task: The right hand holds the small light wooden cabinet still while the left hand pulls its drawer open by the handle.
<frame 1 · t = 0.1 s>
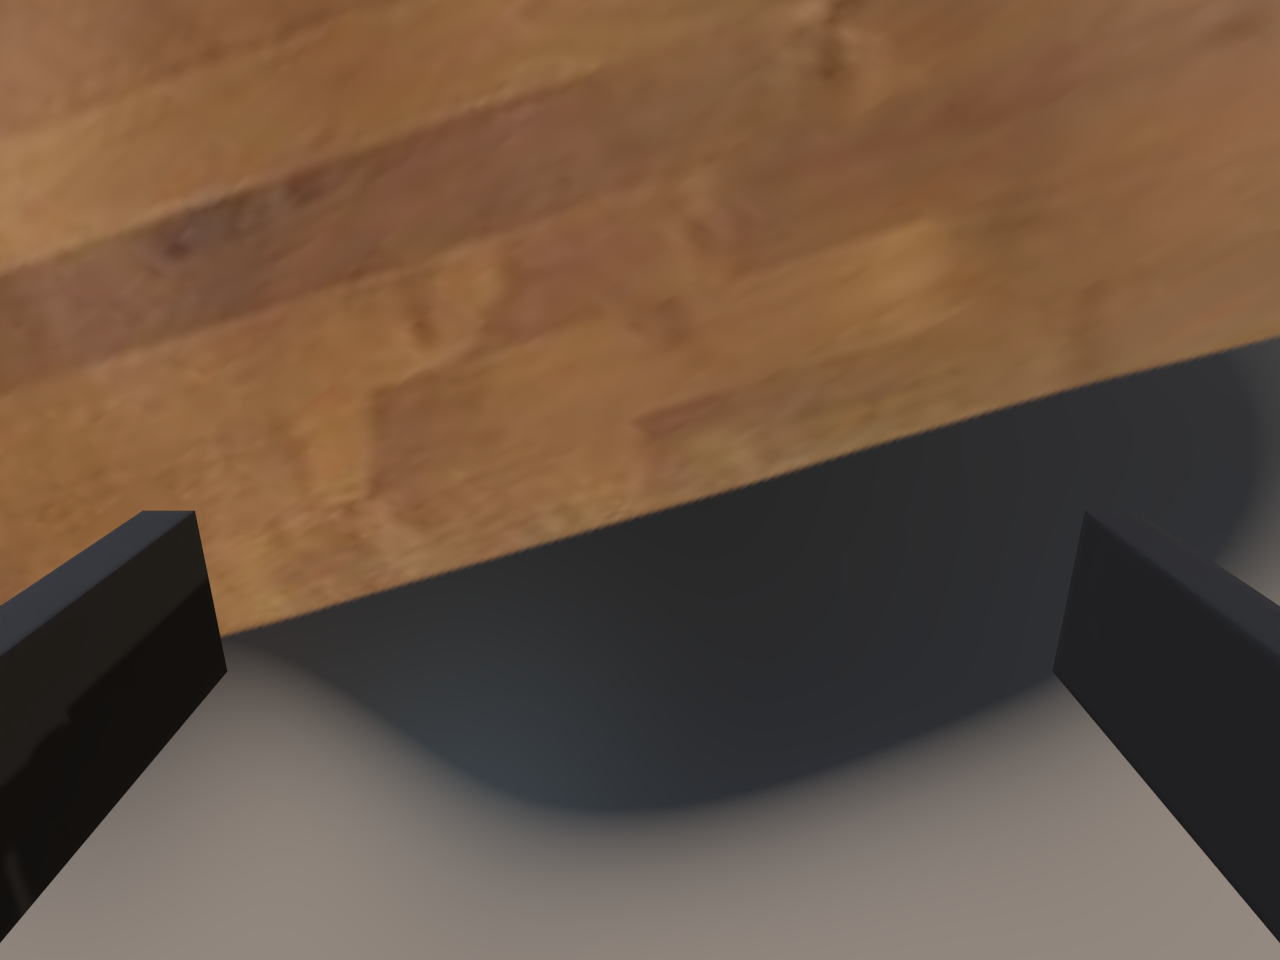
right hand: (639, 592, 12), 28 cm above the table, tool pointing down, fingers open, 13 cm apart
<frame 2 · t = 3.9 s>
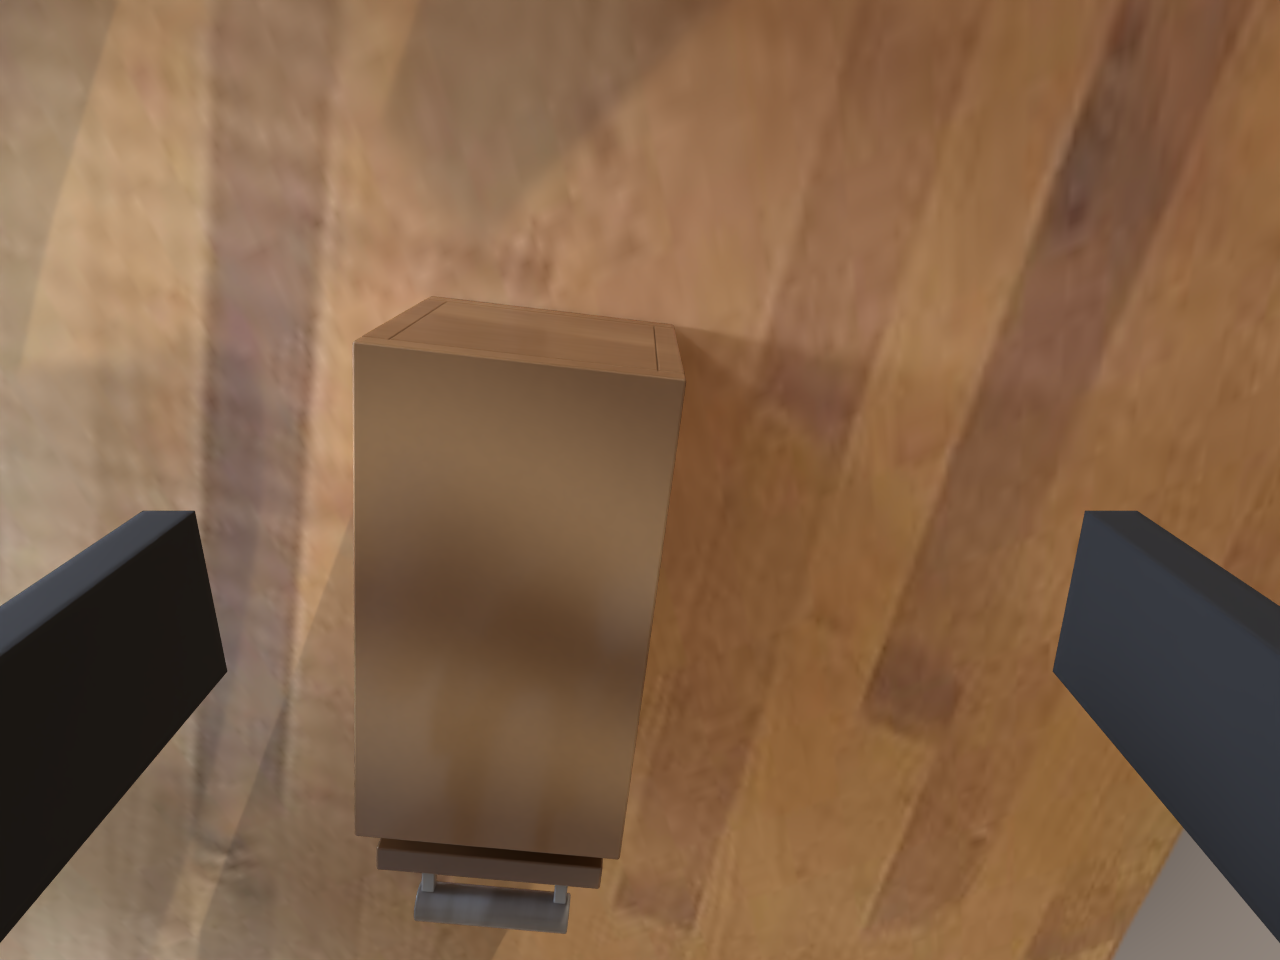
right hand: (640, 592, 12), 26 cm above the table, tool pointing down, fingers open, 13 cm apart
cabinet: (536, 519, 40), on the table
drawer: (512, 690, 37), point 5 cm above the table, slide at 1.5 cm
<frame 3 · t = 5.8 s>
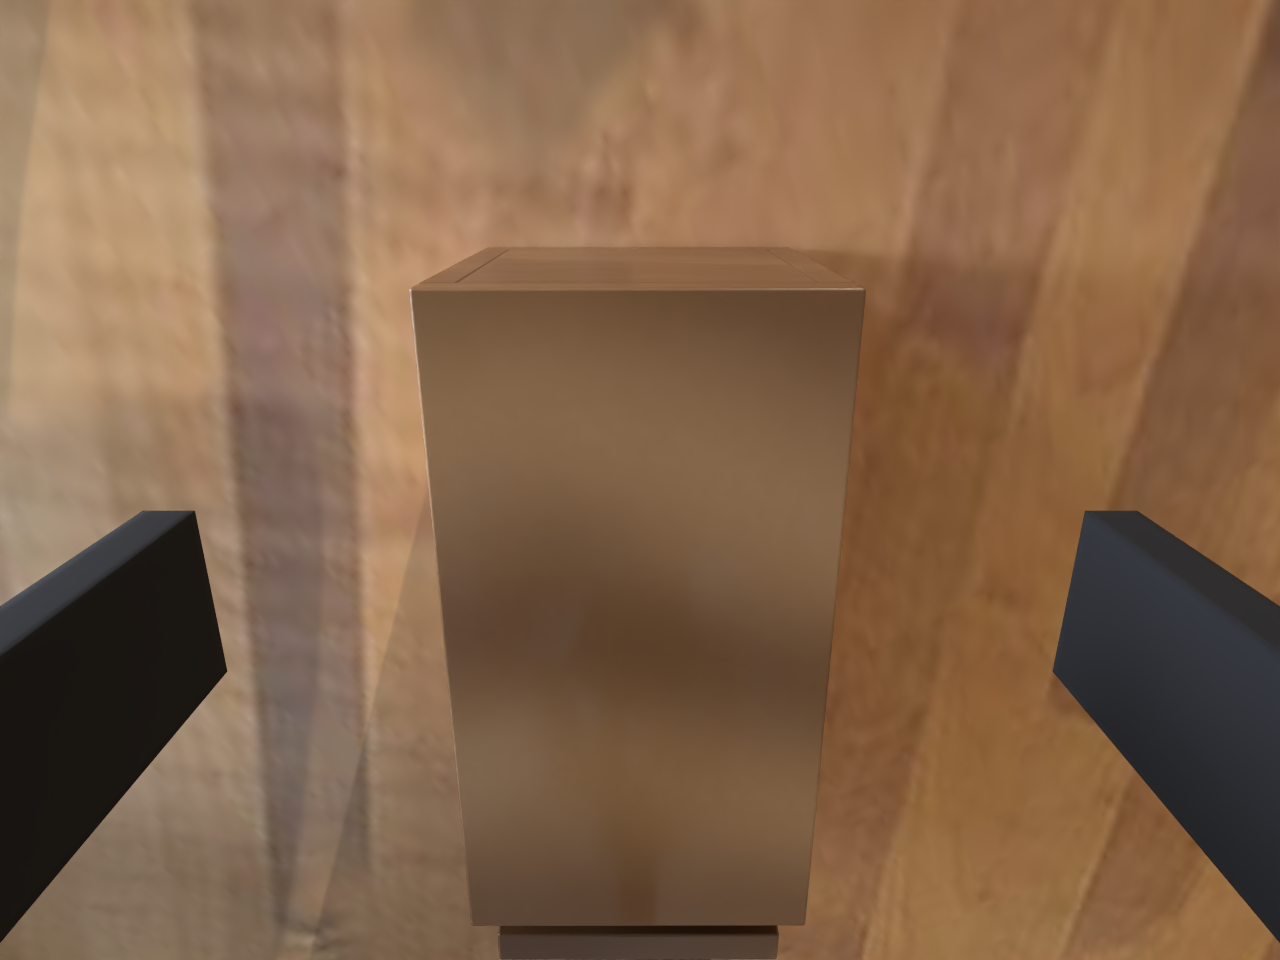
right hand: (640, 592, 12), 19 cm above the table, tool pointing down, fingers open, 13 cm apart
cabinet: (638, 510, 33), on the table
drawer: (638, 721, 30), point 5 cm above the table, slide at 1.5 cm
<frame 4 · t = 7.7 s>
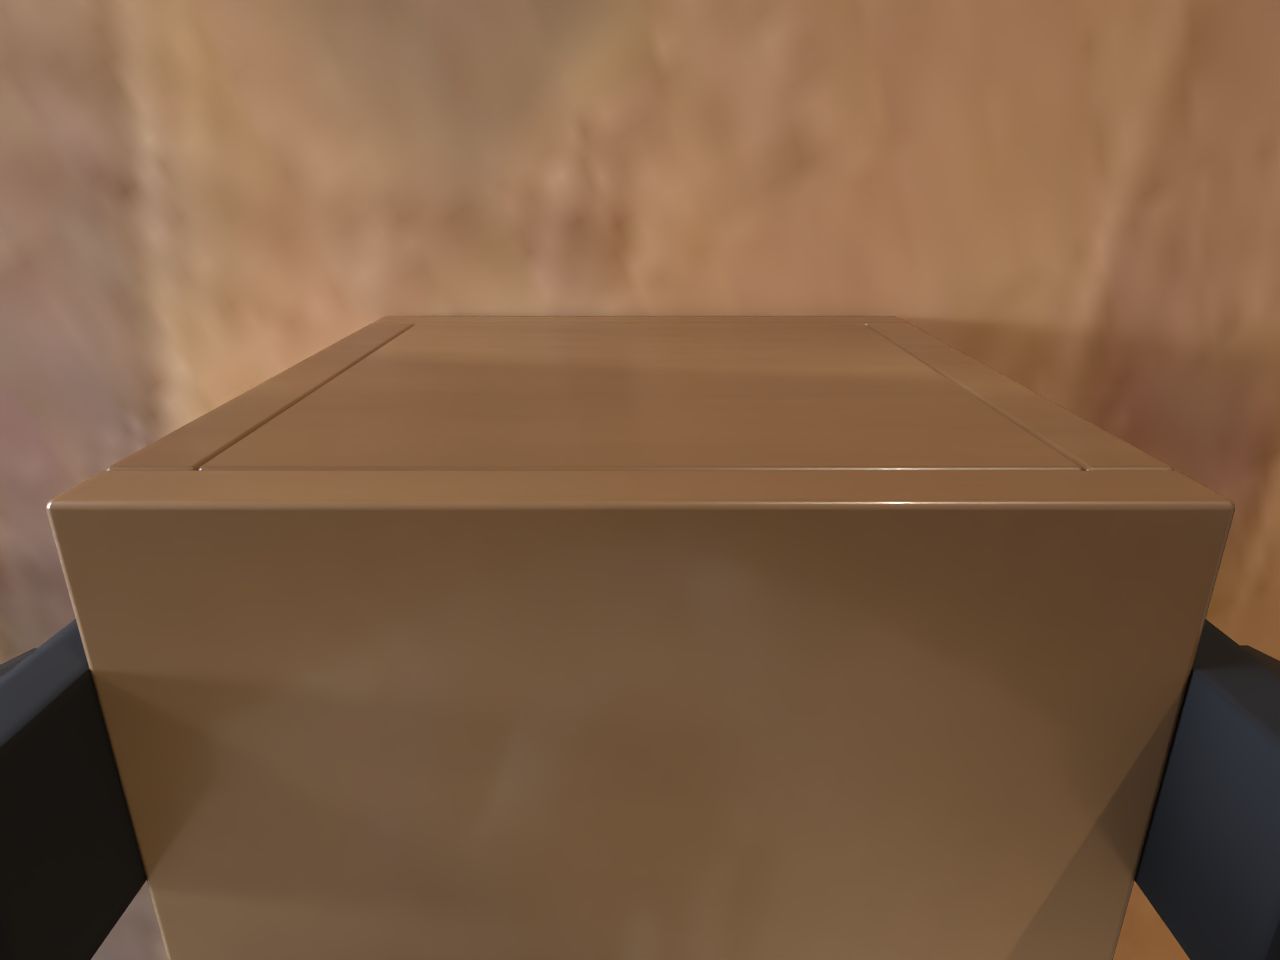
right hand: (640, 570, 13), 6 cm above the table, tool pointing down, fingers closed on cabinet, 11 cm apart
cabinet: (640, 719, 21), on the table, touching right hand
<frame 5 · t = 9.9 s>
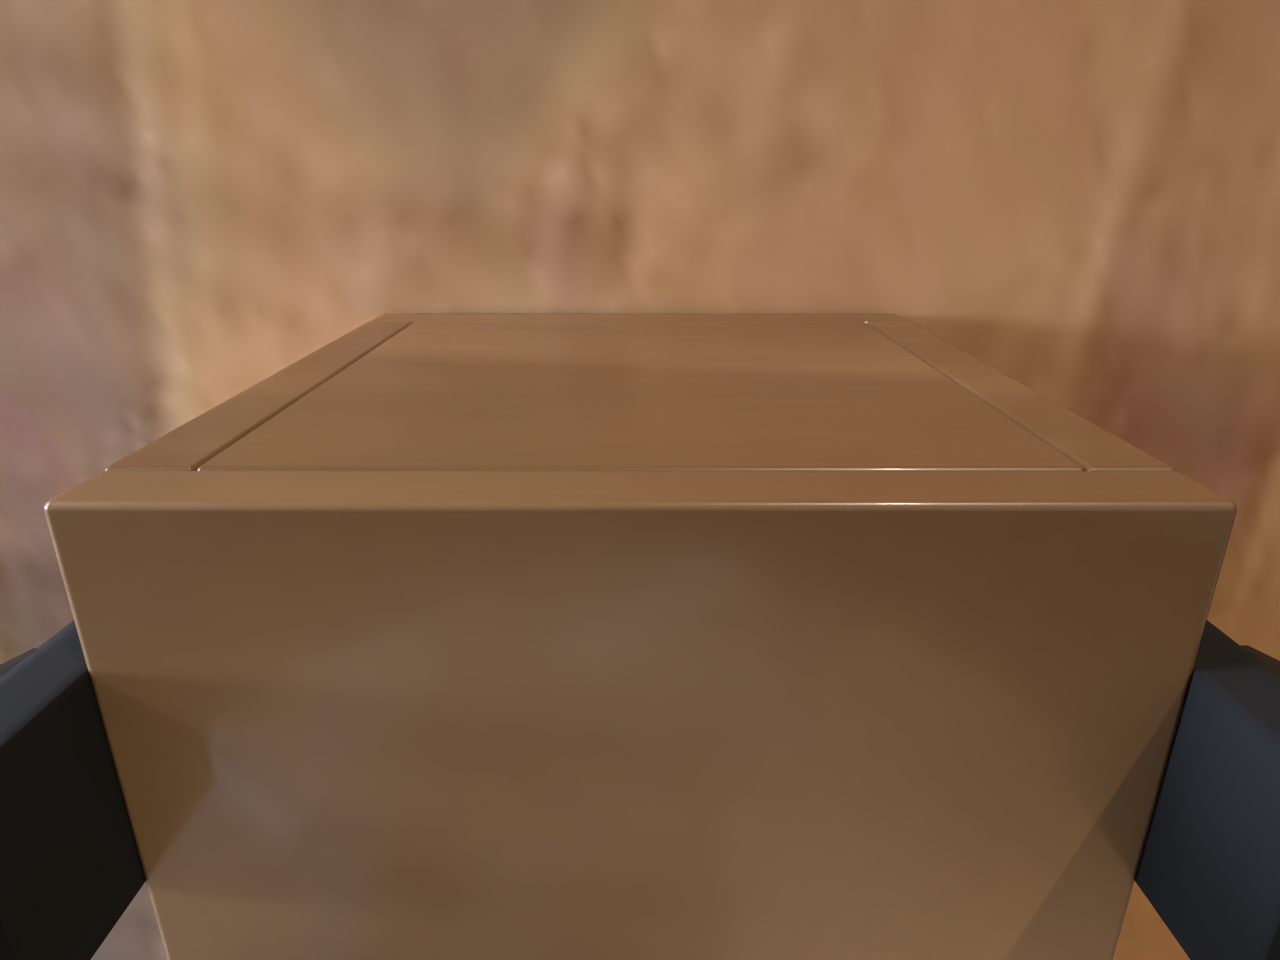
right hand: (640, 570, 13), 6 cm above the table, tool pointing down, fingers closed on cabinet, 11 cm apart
cabinet: (639, 717, 21), on the table, touching right hand
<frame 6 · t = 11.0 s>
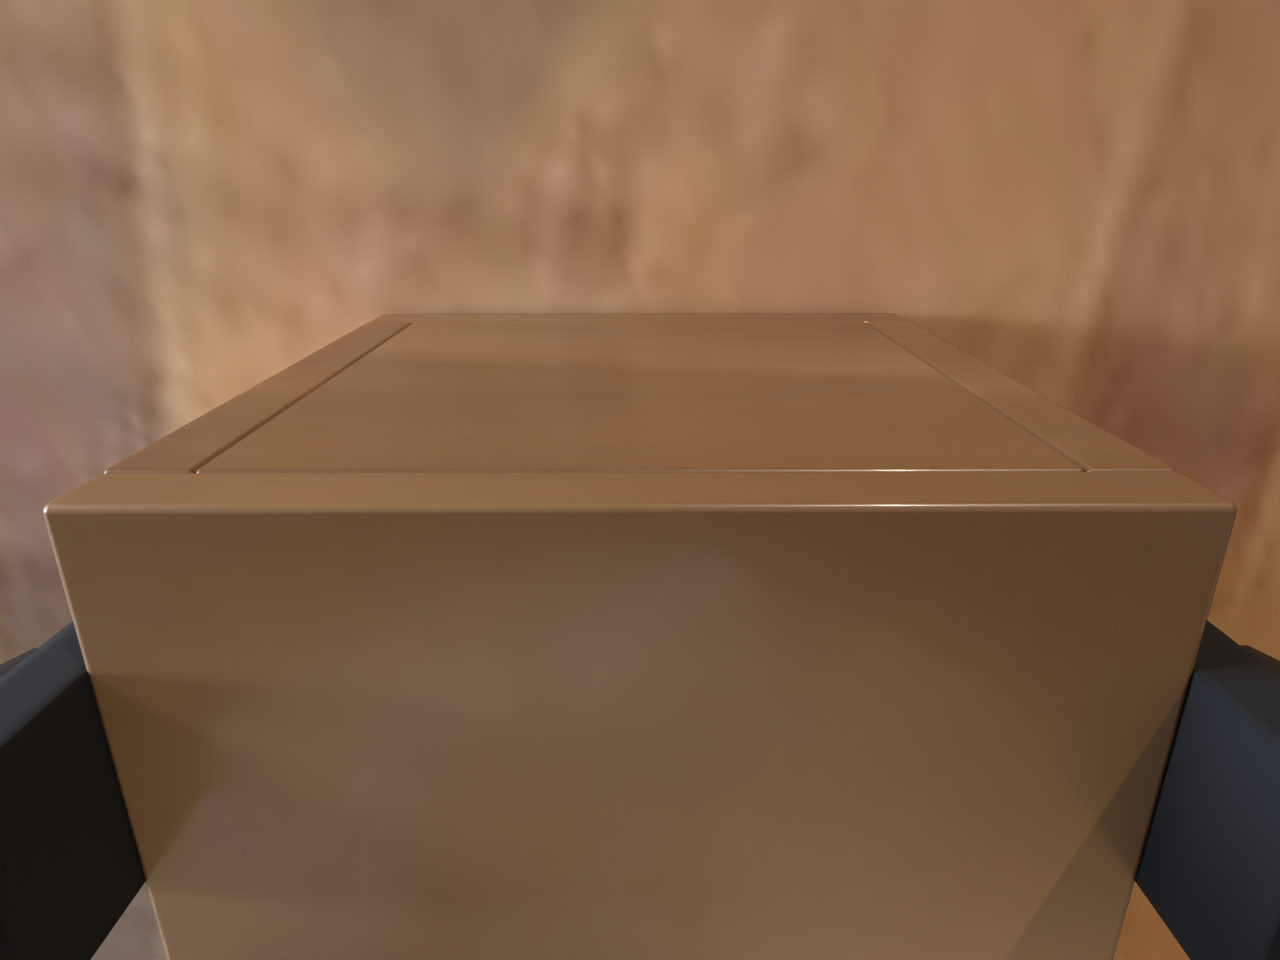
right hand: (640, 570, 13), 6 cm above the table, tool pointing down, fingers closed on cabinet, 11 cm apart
cabinet: (639, 717, 21), on the table, touching right hand
when the right hand's fingers open (6 cm above the table, at t = 13.0 s): cabinet stays where it is, on the table.
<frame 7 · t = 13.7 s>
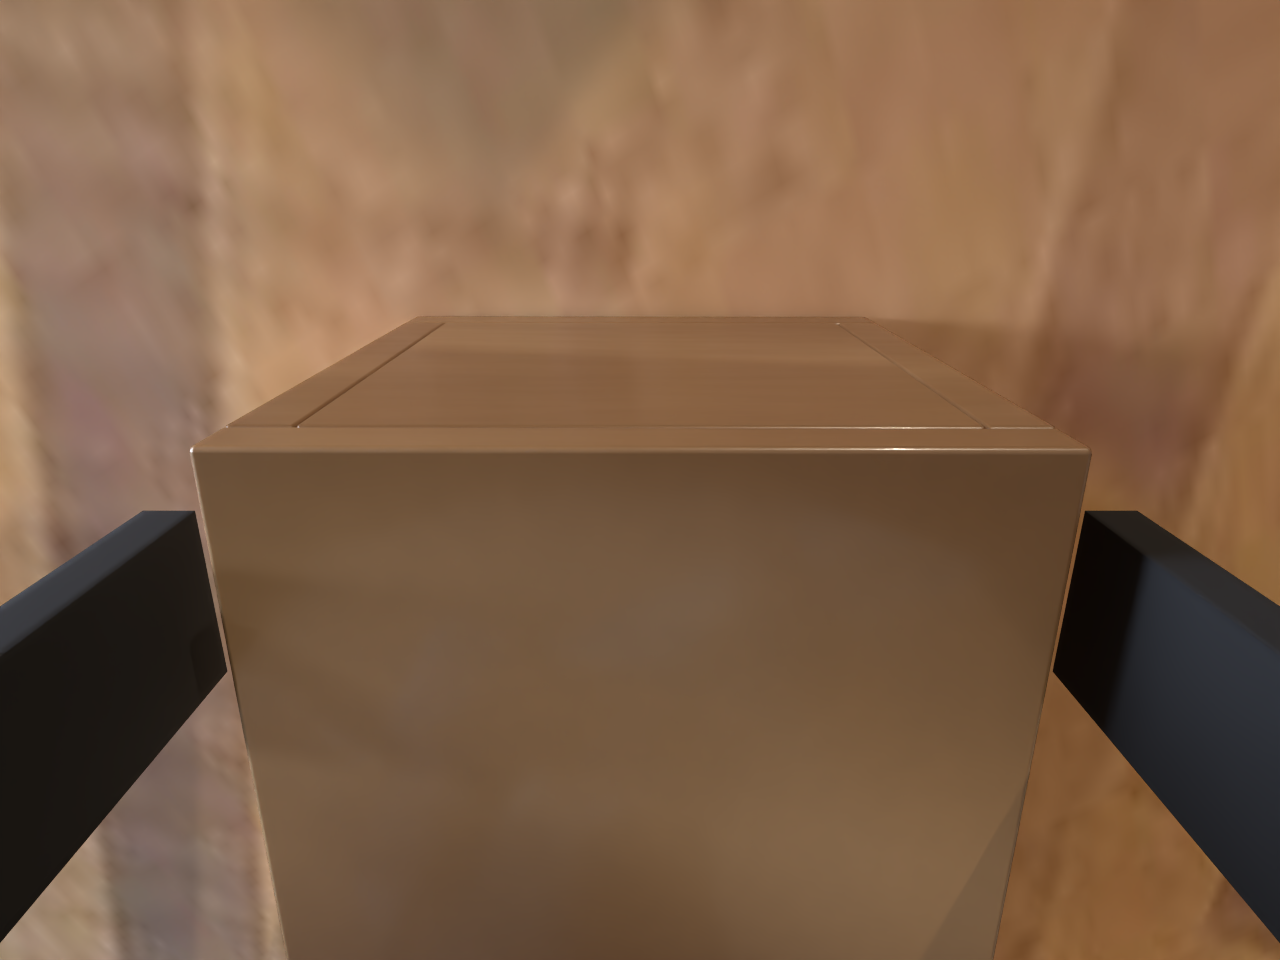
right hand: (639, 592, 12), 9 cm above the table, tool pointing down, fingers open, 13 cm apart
cabinet: (640, 681, 23), on the table
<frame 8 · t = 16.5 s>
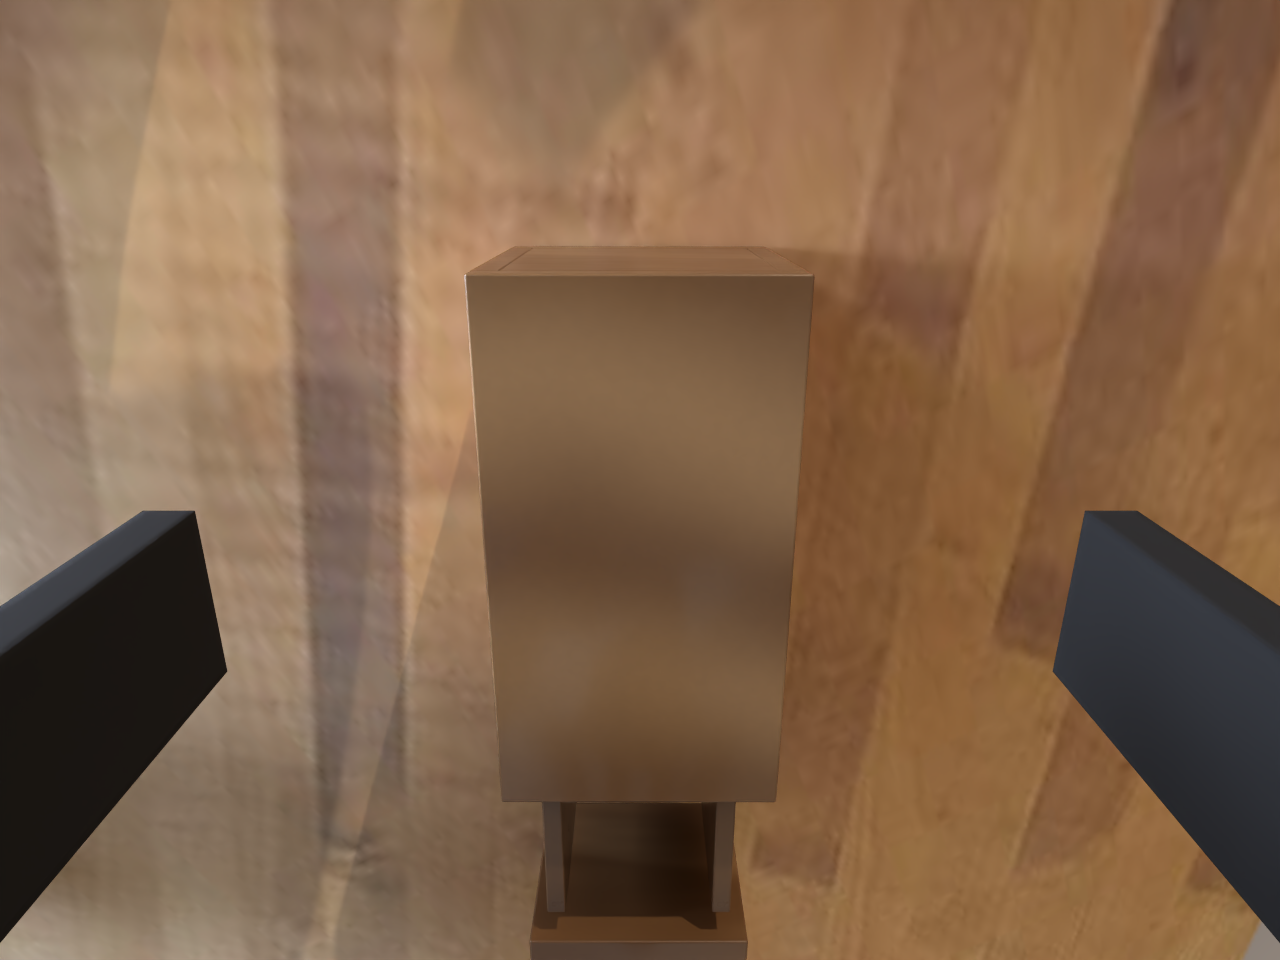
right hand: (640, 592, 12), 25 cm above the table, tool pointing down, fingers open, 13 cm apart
cabinet: (639, 470, 39), on the table
drawer: (638, 773, 38), point 5 cm above the table, slide at 8.5 cm
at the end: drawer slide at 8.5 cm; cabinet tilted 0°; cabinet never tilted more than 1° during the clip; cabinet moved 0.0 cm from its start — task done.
